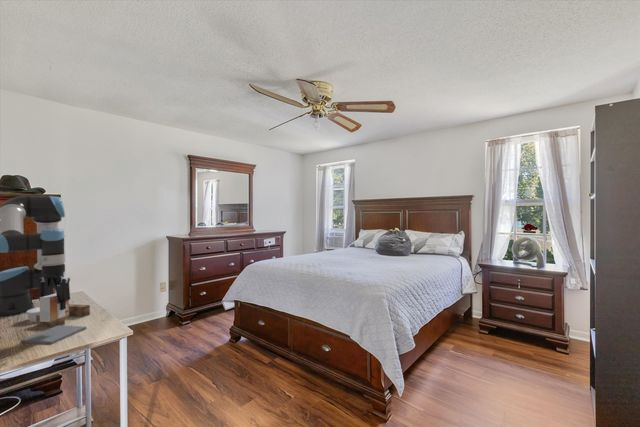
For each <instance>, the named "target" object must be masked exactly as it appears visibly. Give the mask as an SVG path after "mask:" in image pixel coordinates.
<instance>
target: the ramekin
mask: <svg viewBox="0 0 640 427" xmlns="http://www.w3.org/2000/svg"><path fill="white" fill-rule="evenodd" d="M25 313H26V315H27V318H28V321H29V322H30V323H37V317H36V315H39V314H40V306H37V307H34V308H33V309H30V310H28V311H25Z"/></svg>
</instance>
